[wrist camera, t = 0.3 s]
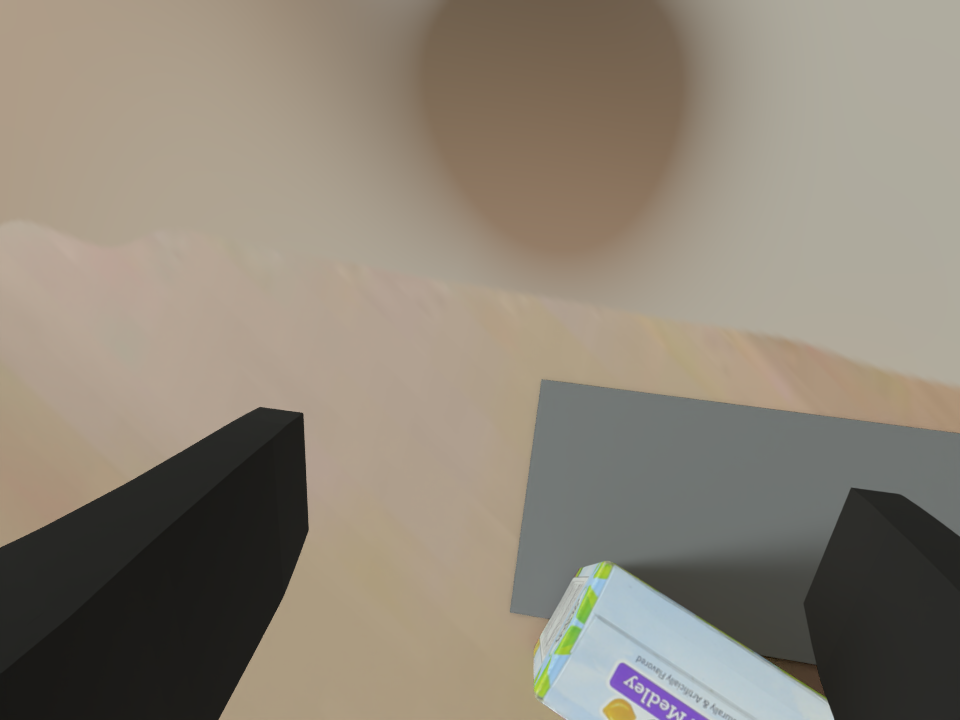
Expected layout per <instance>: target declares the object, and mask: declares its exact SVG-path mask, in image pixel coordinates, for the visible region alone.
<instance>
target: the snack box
mask: <svg viewBox="0 0 960 720" xmlns="http://www.w3.org/2000/svg"><path fill="white" fill-rule="evenodd" d="M534 694H535V697H536V699H537V700H538V701H540V702H541V703H542V704H544V705H545V706H547V707H548V708H550V709H551V710H552V711H554V712H555V713H557V714H558V715H559V716H561V717H562V718H564V719H565V720H834V717H833V715H832V712H831V709H830V706H829V704H828V701H827V698H826V697H825V696H823V695H822V694H820V693H818V692H817V691H815V690H814V689H812V688H811V687H809V686H807V685H806V684H804V683H803V682H801V681H800V680H798V679H796V678H795V677H793V676H792V675H790V674H789V673H787V672H785V671H784V670H782V669H781V668H779V667H778V666H776V665H774V664H773V663H771V662H770V661H768V660H767V659H765V658H763V657H762V656H760V655H759V654H757V653H756V652H754V651H752V650H751V649H749V648H748V647H746V646H744V645H743V644H741V643H740V642H738V641H737V640H735V639H733V638H732V637H730V636H729V635H727V634H725V633H724V632H722V631H721V630H719V629H718V628H716V627H714V626H713V625H711V624H710V623H708V622H706V621H705V620H703V619H702V618H700V617H699V616H697V615H695V614H694V613H692V612H691V611H689V610H688V609H686V608H684V607H683V606H681V605H680V604H678V603H676V602H675V601H673V600H672V599H670V598H669V597H667V596H665V595H664V594H662V593H661V592H659V591H658V590H656V589H654V588H653V587H651V586H650V585H648V584H647V583H645V582H644V581H642V580H640V579H639V578H637V577H636V576H634V575H632V574H631V573H629V572H628V571H626V570H624V569H623V568H621V567H620V566H618V565H616V564H615V563H613V562H610V561H603V562H600V563H596V564H593V565H589V566H585V567H582V568H579V569H578V570H577V572H576V574H575V576H574V578H573V579H572V581H571V583H570V585H569V587H568V588H567V590H566V592H565V594H564V596H563V597H562V599H561V601H560V603H559V604H558V606H557V608H556V610H555V611H554V613H553V615H552V617H551V618H550V620H549V622H548V623H547V625H546V627H545V629H544V630H543V632H542V634H541V636H540V638H539V640H538V641H537V643H536V645H535V647H534Z"/></svg>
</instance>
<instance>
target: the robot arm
mask: <svg viewBox="0 0 960 720" xmlns="http://www.w3.org/2000/svg"><path fill="white" fill-rule="evenodd" d="M308 530H309V527H308V505H307V483H306V462H305V440H304V419H303V413H300V412H292V411H285V410H278V409H270V408H263V407H259V408H257V409H255V410H253V411H251V412H249V413H247V414H245V415H244V416H242V417H240V418H238V419H236V420H235V421H233V422H231V423H229V424H228V425H226V426H224V427H223V428H221V429H219V430H217V431H216V432H214V433H212V434H211V435H209V436H207V437H206V438H204V439H202V440H200V441H199V442H197V443H195V444H194V445H192V446H190V447H189V448H187V449H185V450H184V451H182V452H180V453H178V454H177V455H175V456H173V457H171V458H170V459H168V460H166V461H164V462H163V463H161V464H159V465H158V466H156V467H154V468H152V469H151V470H149V471H147V472H145V473H144V474H142V475H140V476H138V477H137V478H135V479H133V480H131V481H130V482H128V483H126V484H124V485H122V486H120V487H119V488H117V489H115V490H113V491H111V492H109V493H107V494H105V495H103V496H101V497H100V498H98V499H96V500H94V501H92V502H90V503H88V504H86V505H84V506H82V507H81V508H79V509H77V510H75V511H73V512H71V513H69V514H67V515H65V516H63V517H62V518H60V519H58V520H56V521H54V522H52V523H50V524H48V525H46V526H44V527H42V528H40V529H38V530H36V531H34V532H32V533H30V534H28V535H26V536H24V537H22V538H20V539H18V540H16V541H13V542H11V543H9V544H7V545H5V546H3V547H1V548H0V720H219V718H220V716H221V714H222V712H223V710H224V708H225V706H226V705H227V703H228V701H229V699H230V697H231V695H232V693H233V691H234V690H235V688H236V686H237V684H238V682H239V680H240V678H241V676H242V675H243V673H244V671H245V669H246V667H247V665H248V663H249V661H250V660H251V658H252V656H253V654H254V652H255V650H256V648H257V646H258V645H259V643H260V641H261V639H262V637H263V635H264V633H265V631H266V629H267V627H268V625H269V624H270V622H271V620H272V618H273V616H274V614H275V612H276V610H277V608H278V606H279V604H280V602H281V600H282V598H283V596H284V594H285V592H286V589H287V586H288V584H289V581H290V579H291V576H292V574H293V571H294V569H295V566H296V563H297V561H298V558H299V555H300V552H301V550H302V547H303V544H304V541H305V539H306V536H307V533H308ZM803 604H804V609H805V614H806V619H807V624H808V629H809V634H810V639H811V643H812V648H813V652H814V656H815V660H816V664H817V669H818V673H819V677H820V681H821V683H822V686H823V689H824V692H825V695H826V698H827V701H828V704H829V706H830V709H831V712H832V715H833V717H834V720H960V536H958V535H957V534H956V533H955V532H953V531H952V530H951V529H949V528H948V527H947V526H945V525H944V524H943V523H941V522H940V521H939V520H937V519H936V518H935V517H933V516H932V515H930V514H929V513H928V512H926V511H925V510H923V509H922V508H921V507H919V506H918V505H916V504H915V503H913V502H912V501H910V500H909V499H907V498H906V497H904V496H903V495H901V494H896V493H888V492H881V491H874V490H866V489H859V488H852V487H851V489H850V491H849V494H848V496H847V498H846V501H845V503H844V506H843V508H842V511H841V513H840V515H839V518H838V520H837V523H836V525H835V528H834V530H833V532H832V535H831V537H830V540H829V542H828V545H827V547H826V550H825V552H824V554H823V557H822V559H821V562H820V564H819V567H818V569H817V571H816V574H815V576H814V579H813V581H812V584H811V586H810V588H809V591H808V593H807V596H806V598H805V601H804V603H803Z"/></svg>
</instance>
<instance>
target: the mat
mask: <svg viewBox="0 0 960 720" xmlns="http://www.w3.org/2000/svg"><path fill="white" fill-rule="evenodd" d="M851 487H852V488H859V489H866V490H874V491H881V492H888V493H896V494H901V495H903V496H904V497H906V498H907V499H909V500H910V501H912V502H913V503H915V504H916V505H918V506H919V507H921V508H922V509H923V510H925V511H926V512H928V513H929V514H930V515H932V516H933V517H935V518H936V519H937V520H939V521H940V522H941V523H943V524H944V525H945V526H947V527H948V528H949V529H951V530H952V531H953V532H955V533H956V534H957V535H958V536H960V434H959V433H951V432H943V431H936V430H928V429H920V428H912V427H905V426H897V425H889V424H882V423H874V422H866V421H858V420H851V419H843V418H835V417H828V416H820V415H812V414H805V413H797V412H789V411H781V410H774V409H766V408H758V407H751V406H743V405H735V404H727V403H720V402H712V401H704V400H697V399H689V398H681V397H674V396H666V395H658V394H650V393H643V392H635V391H627V390H620V389H612V388H604V387H596V386H589V385H581V384H573V383H566V382H558V381H550V380H542V381H541V388H540V395H539V403H538V410H537V417H536V424H535V432H534V439H533V446H532V454H531V461H530V468H529V476H528V483H527V490H526V498H525V505H524V512H523V520H522V527H521V534H520V542H519V549H518V556H517V564H516V571H515V578H514V586H513V593H512V600H511V608H510V612H512V613H517V614H523V615H529V616H535V617H541V618H547V619H550V618H551V617H552V615H553V613H554V611H555V610H556V608H557V606H558V604H559V603H560V601H561V599H562V597H563V596H564V594H565V592H566V590H567V588H568V587H569V585H570V583H571V581H572V579H573V578H574V576H575V574H576V572H577V570H578V569H579V568H582V567H585V566H589V565H593V564H596V563H600V562H603V561H610V562H613V563H615V564H616V565H618V566H620V567H621V568H623V569H624V570H626V571H628V572H629V573H631V574H632V575H634V576H636V577H637V578H639V579H640V580H642V581H644V582H645V583H647V584H648V585H650V586H651V587H653V588H654V589H656V590H658V591H659V592H661V593H662V594H664V595H665V596H667V597H669V598H670V599H672V600H673V601H675V602H676V603H678V604H680V605H681V606H683V607H684V608H686V609H688V610H689V611H691V612H692V613H694V614H695V615H697V616H699V617H700V618H702V619H703V620H705V621H706V622H708V623H710V624H711V625H713V626H714V627H716V628H718V629H719V630H721V631H722V632H724V633H725V634H727V635H729V636H730V637H732V638H733V639H735V640H737V641H738V642H740V643H741V644H743V645H744V646H746V647H748V648H749V649H751V650H752V651H754V652H756V653H757V654H759V655H763V656H768V657H774V658H780V659H786V660H792V661H798V662H803V663H809V664H815V665H817V664H816V660H815V656H814V652H813V648H812V643H811V639H810V634H809V629H808V624H807V619H806V614H805V609H804V604H803V603H804V601H805V598H806V596H807V593H808V591H809V588H810V586H811V584H812V581H813V579H814V576H815V574H816V571H817V569H818V567H819V564H820V562H821V559H822V557H823V554H824V552H825V550H826V547H827V545H828V542H829V540H830V537H831V535H832V532H833V530H834V528H835V525H836V523H837V520H838V518H839V515H840V513H841V511H842V508H843V506H844V503H845V501H846V498H847V496H848V494H849V491H850V489H851Z"/></svg>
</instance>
